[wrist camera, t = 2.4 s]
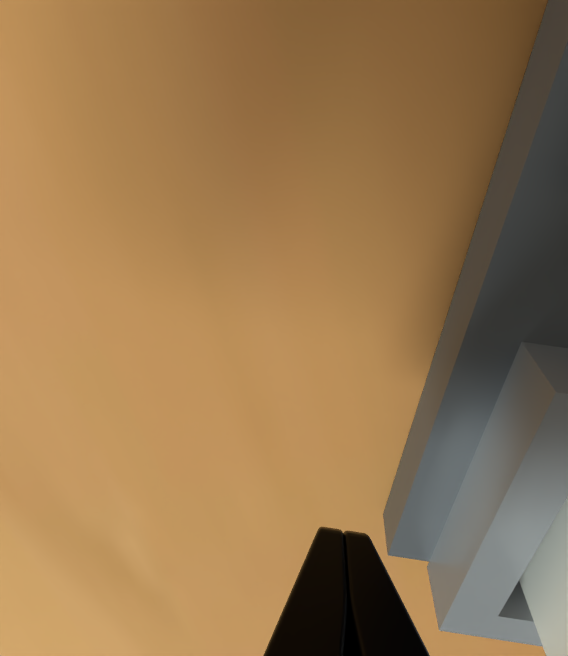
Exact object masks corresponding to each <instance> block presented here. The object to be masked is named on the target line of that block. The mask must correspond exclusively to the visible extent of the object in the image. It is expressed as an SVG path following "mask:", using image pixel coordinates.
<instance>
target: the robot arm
mask: <svg viewBox="0 0 568 656" xmlns="http://www.w3.org/2000/svg"><path fill="white" fill-rule="evenodd" d="M264 656H430V655H429V653H428V651H427V649H426V647H425V645H424V643H423V641H422V639H421V637H420V635H419V633H418V632H417V630H416V628H415V626H414V624H413V622H412V620H411V618H410V616H409V614H408V612H407V610H406V608H405V606H404V604H403V602H402V600H401V598H400V596H399V594H398V592H397V590H396V588H395V586H394V584H393V582H392V580H391V578H390V576H389V574H388V572H387V570H386V569H385V567H384V565H383V563H382V561H381V559H380V557H379V555H378V553H377V551H376V549H375V547H374V545H373V543H372V541H371V539H370V537H369V536H368V535H367V534H365V533H359V532H353V531H345V532H344V533H343V532H342V531H341V530H339V529H334V528H327V527H320V528H319V529H318V531H317V533H316V535H315V538H314V540H313V542H312V545H311V547H310V549H309V552H308V554H307V556H306V559H305V561H304V563H303V565H302V568H301V570H300V572H299V575H298V577H297V579H296V582H295V584H294V586H293V589H292V591H291V593H290V596H289V598H288V600H287V602H286V605H285V607H284V609H283V612H282V614H281V616H280V619H279V621H278V623H277V626H276V628H275V630H274V632H273V635H272V637H271V639H270V642H269V644H268V646H267V649H266V651H265V653H264Z"/></svg>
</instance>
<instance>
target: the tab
mask: <svg viewBox="0 0 568 656" xmlns="http://www.w3.org/2000/svg"><path fill="white" fill-rule="evenodd" d="M519 582H520V584H521V587H522V590H523V593H524V596H525V598H526V601H527V604H528V607H529V609H530V612H531V615H532V618H533V620H534V623H535V626H536V629H537V632H538V634H539V637H540V640H541V643H542V645H543V648H544V651H545V654H546V656H568V497H567V499H566V500H565V502H564V504H563V505H562V507H561V509H560V511H559V512H558V514H557V516H556V517H555V519H554V521H553V523H552V524H551V526H550V528H549V530H548V531H547V533H546V535H545V536H544V538H543V540H542V542H541V543H540V545H539V547H538V548H537V550H536V552H535V554H534V555H533V557H532V559H531V560H530V562H529V564H528V566H527V567H526V569H525V571H524V572H523V574H522V576H521V578H520V579H519Z"/></svg>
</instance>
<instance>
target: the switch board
mask: <svg viewBox="0 0 568 656" xmlns="http://www.w3.org/2000/svg"><path fill="white" fill-rule="evenodd" d="M567 497H568V0H548V3H547V6H546V9H545V12H544V15H543V18H542V22H541V25H540V28H539V31H538V34H537V37H536V40H535V43H534V46H533V50H532V53H531V56H530V59H529V62H528V65H527V68H526V71H525V74H524V78H523V81H522V84H521V87H520V90H519V93H518V96H517V99H516V102H515V106H514V109H513V112H512V115H511V118H510V121H509V124H508V127H507V130H506V134H505V137H504V140H503V143H502V146H501V149H500V152H499V155H498V158H497V162H496V165H495V168H494V171H493V174H492V177H491V180H490V183H489V186H488V190H487V193H486V196H485V199H484V202H483V205H482V208H481V211H480V214H479V218H478V221H477V224H476V227H475V230H474V233H473V236H472V239H471V242H470V246H469V249H468V252H467V255H466V258H465V261H464V264H463V267H462V270H461V274H460V277H459V280H458V283H457V286H456V289H455V292H454V295H453V298H452V302H451V305H450V308H449V311H448V314H447V317H446V320H445V323H444V327H443V330H442V333H441V336H440V339H439V342H438V345H437V348H436V351H435V355H434V358H433V361H432V364H431V367H430V370H429V373H428V376H427V379H426V383H425V386H424V389H423V392H422V395H421V398H420V401H419V404H418V407H417V411H416V414H415V417H414V420H413V423H412V426H411V429H410V432H409V435H408V439H407V442H406V445H405V448H404V451H403V454H402V457H401V460H400V463H399V467H398V470H397V473H396V476H395V479H394V482H393V485H392V488H391V491H390V495H389V498H388V501H387V504H386V507H385V510H384V513H383V517H384V526H385V535H386V544H387V552H388V555H390V556H396V557H403V558H410V559H416V560H423V561H429V563H428V566H427V569H428V574H429V580H430V585H431V590H432V595H433V601H434V606H435V611H436V616H437V622H438V627H439V630H440V631H446V632H453V633H459V634H465V635H472V636H478V637H485V638H491V639H498V640H504V641H511V642H517V643H524V644H530V645H536V646H543V645H542V643H541V640H540V637H539V634H538V632H537V629H536V626H535V623H534V620H533V618H532V615H531V612H530V609H529V607H528V604H527V601H526V598H525V596H524V593H523V590H522V587H521V584H520V582H519V579H520V578H521V576H522V574H523V572H524V571H525V569H526V567H527V566H528V564H529V562H530V560H531V559H532V557H533V555H534V554H535V552H536V550H537V548H538V547H539V545H540V543H541V542H542V540H543V538H544V536H545V535H546V533H547V531H548V530H549V528H550V526H551V524H552V523H553V521H554V519H555V517H556V516H557V514H558V512H559V511H560V509H561V507H562V505H563V504H564V502H565V500H566V499H567Z"/></svg>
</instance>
